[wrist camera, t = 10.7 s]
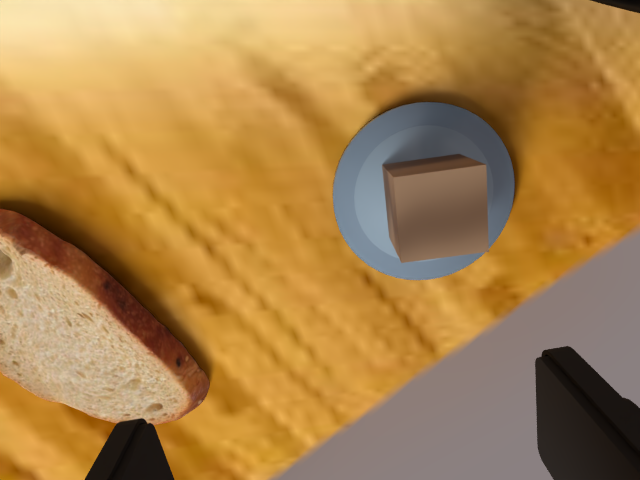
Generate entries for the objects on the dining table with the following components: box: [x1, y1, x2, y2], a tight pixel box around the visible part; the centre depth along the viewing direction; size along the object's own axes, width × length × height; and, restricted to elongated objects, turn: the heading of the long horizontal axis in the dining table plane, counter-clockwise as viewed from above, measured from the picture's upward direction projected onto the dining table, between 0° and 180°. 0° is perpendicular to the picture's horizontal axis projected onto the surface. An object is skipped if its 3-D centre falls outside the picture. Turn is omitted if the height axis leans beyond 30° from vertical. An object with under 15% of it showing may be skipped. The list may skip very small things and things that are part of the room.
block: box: [382, 154, 489, 263], centre depth 27 cm, size 5×5×5 cm
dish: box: [333, 102, 515, 280], centre depth 30 cm, size 12×12×1 cm
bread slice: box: [0, 209, 209, 425], centre depth 32 cm, size 18×18×4 cm
